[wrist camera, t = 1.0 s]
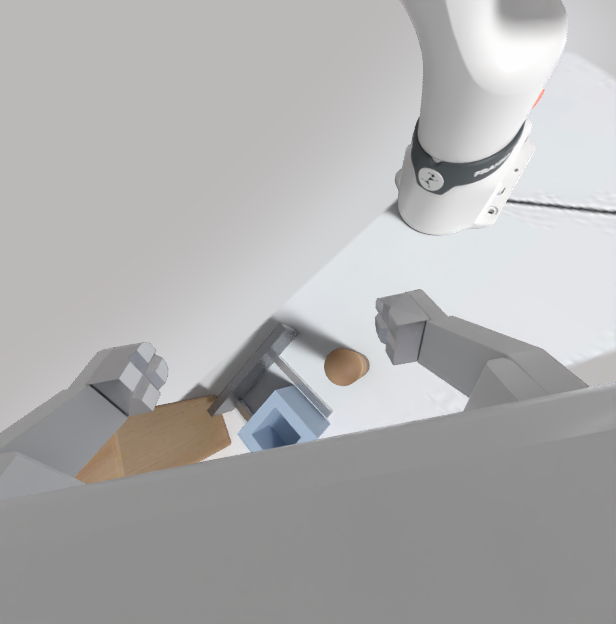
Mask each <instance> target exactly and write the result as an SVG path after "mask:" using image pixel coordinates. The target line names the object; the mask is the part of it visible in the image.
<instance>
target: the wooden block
mask: <svg viewBox="0 0 616 624" xmlns="http://www.w3.org/2000/svg"><path fill="white" fill-rule="evenodd" d="M216 399H217V398H216V396H215V395H210V396H204V397H199V398H194V399H189V400H184V401H179V402H174V403H168V404H163V405H158V406H155V408H154V410H153V411H152V412H147V413H143V414H138V415H134V416H129V417H128V419H127V420H126V421H125V422H124V423H123V424H122V426H121V427H120V428H119V429H118V430H117V431H116V432H115V433H114V434H113V435H112V437H111V438H110V439H109V440H108V441H107V442H106V443H105V444H104V445H103V446H102V448H101V449H100V450H99V451H98V452H97V453H96V454H95V455H94V456H93V457H92V459H91V460H90V461H89V462H88V463H87V464H86V465H85V466H84V467H83V468H82V470H81V471H80V472H79V473H78V474H77V475H76V476H75V477H74V478H75V479H77V480H80V481H82V482H84V483H85V484H90V483H95V482H101V481H106V480H111V479H116V478H121V477H126V476H132V475H137V474H142V473H147V472H152V471H158V470H163V469H168V468H173V467H178V466H183V465H189V464H194V463H198V462H200V461H201V460H203V459H205V458H207V457H209V456H211V455H212V454H214V453H216V452H218V451H220V450H222V449H224V448H225V447H227V446H229V445H230V444H231V440H230V437H229V434H228V431H227V428H226V425H225V422H224V419H223V416H222V414H219V415H216V416H213V417H211V416H210V414H209V413H208V412H207V409H208V408H209V407H210V406H211V405H212V403H213V402H214V401H215V400H216Z"/></svg>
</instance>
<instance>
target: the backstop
mask: <svg viewBox="0 0 616 624" xmlns="http://www.w3.org/2000/svg"><path fill="white" fill-rule="evenodd" d="M297 334H298V332H297V331H296V330H295V329H294V328H292V327H290V326H287V325H284V324H282V323H280V324H279V325H278V326H277V328H276V329H275V330H274V331H273V332H272V334H271V335H270V336H269V337H268V338H267V339H266V341H265V342H264V343H263V344H262V345H261V347H260V348H259V349H258V350H257V351H256V353H255V354H254V355H253V356H252V357H251V358H250V360H249V361H248V362H247V363H246V364H245V366H244V367H243V368H242V369H241V370H240V371H239V373H238V374H237V375H236V376H235V377H234V379H233V380H232V381H231V382H230V383H229V384H228V386H227V387H226V388H225V389H224V390H223V392H222V393H221V394H220V395H219V396H218V397H217V399H216V400H215V401H214V402H213V403H212V405H211V406H210V407H209V408H208V409H207V412H208V413H209V414H210V416H211V417H213V416H216V415H219V414H222V413H226V412H229V411H232V410H233V409H234V408H235V407H236V408H237V409H238V410H239V412H240V413H241V414H242V416H243V417H244V418H245V419H246V421H247V422H248V421H249V420H250V419H251V417H252V416H253V415H254V414H253V413H252V411H251V410H250V409H249V408H248V406H247V405H246V404H245V403H244V401H243V400H242V398H243V397H244V396H245V395H246V394H247V393H248V391H249V390H250V389H251V388H252V387H253V386H254V384H255V383H256V382H257V381H258V380H259V378H260V377H261V376H262V375H263V374H264V373H265V371H266V370H267V369H268V368H269V367H270V366H271V364H272V363H273V362H275V363H276V364H277V365H278V366H279V367H280V368H281V369H282V370H283V372H284V373H285V374H286V375H287V376H288V377H289V378H290V379H291V380H292V381H293V382H294V383H295V384H296V385H297V386H298V388H299V389H300V390H301V391H302V392H303V393H304V394H305V395H306V396H307V397H308V398H309V399H310V400H311V401H312V402H313V404H314V405H315V406H316V407H317V408H318V409H319V410H320V411H321V412H322V413H323V414H324V415H325V416H326V417H328V416H329V415H330V414H331V413H332V412H333V411H332V409H331V408H330V407H329V406H328V405H327V404H326V403H325V402H324V401H323V400H322V399H321V398H320V397H319V396H318V395H317V394H316V393H315V392H314V391H313V390H312V389H311V388H310V387H309V386H308V385H307V383H306V382H305V381H304V380H303V379H302V378H301V377H300V376H299V375H298V374H297V373H296V372H295V371H294V370H293V369H292V368H291V367H290V366H289V365H288V364H287V363H286V362H285V361H284V360H283V359H282V357H281V356H280V354H281V353H282V351H283V350H284V349H285V348H286V347H287V346H288V344H289V343H290V342H291V341H292V340H293V339H294V337H295V336H296V335H297Z"/></svg>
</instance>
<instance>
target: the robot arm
mask: <svg viewBox="0 0 616 624" xmlns="http://www.w3.org/2000/svg"><path fill="white" fill-rule="evenodd" d="M400 1H401V3H402V4H403V6H404V8H405V9H406V11H407V13H408V15H409V17H410V19H411V21H412V24H413V26H414V28H415V31H416V34H417V36H418V40H419V44H420V48H421V52H422V59H423V86H422V100H421V110H420V117H419V119H418V120H417V123H416V126H415V130H414V133H413V137H412V143H411V145H408V147H407V149H406V152H405V157H404V161H403V166H402V169H401V170H399V171H398V172H397V174H396V177H395V183H396V186H397V188H398V191H399V195H398V209H399V212H400V215H401V216H402V218H403V220H404V221H405V222H406V223H407V224H408V225H409V226H411V227H412V228H414V229H415V230H417V231H420V232H422V233H426V234H432V235H445V234H451V233H455V232H458V231H461V230H464V229H467V228H484V227H489V226H491V225H493V224H494V222H495V221H496V219H497V217H498V215H499V213H500V212H501V210H502V208H503V206H504V205H505V203H506V201H507V199H508V198H509V196H510V194H511V192H512V190H513V189H514V187H515V185H516V183H517V182H518V180H519V178H520V176H521V174H522V173H523V171H524V169H525V167H526V166H527V164H528V162H529V160H530V158H531V157H532V155H533V153H534V151H535V145H534V144H533V142H532V141H531V140H530V139H529V138H528V135H529V134H530V132H531V130H532V124H531V122H530V121H529V119H528V118H527V116H528V114H529V112H530V111H531V109H532V108H533V107H534V106H535V105H536V104H537V102H538V101H539V99H540V98H541V96H542V94H543V93H544V89H543V88H544V87H545V85H546V83H547V81H548V80H549V78H550V76H551V74H552V73H553V71H554V69H555V68H556V66H557V64H558V63H559V61H560V58H561V56H562V53H563V50H564V47H565V44H566V40H567V35H568V20H567V14H566V10H565V8H564V6H563V4H562V2H561V0H400ZM488 212H492V214H489V213H488ZM376 309H377V311H378V314H377V316H376V317H375V326H376V332H377V334H378V337H379V339H380V341H381V342H382V343H384V344H386V353H387V355H388V357H389V358H390V360H391V362H392V364H393V365H398V364H404V363H410V362H416V361H418V363H419V364H421V365H422V366H424V367H425V368H427V369H428V370H430V371H431V372H432V373H434V374H435V375H437V376H438V377H440V378H441V379H443V380H444V381H446V382H447V383H448V384H450V385H451V386H453V387H454V388H456V389H457V390H459V391H460V392H462V393H463V394H464V395H466V396H467V397H469V400H468V402H467V404H466V406H465V408H464V411H463V412H458V413H453V414H448V415H443V416H437V417H432V418H427V419H422V420H417V421H412V422H406V423H401V424H396V425H391V426H386V427H380V428H375V429H370V430H365V431H360V432H354V433H349V434H344V435H339V436H334V437H328V438H323V439H318V440H313V441H308V442H302V443H297V444H292V445H287V446H282V447H276V448H271V449H266V450H261V451H256V452H251V453H245V454H240V455H235V456H230V457H225V458H220V459H214V460H209V461H204V462H199V463H194V464H189V465H183V466H178V467H173V468H168V469H163V470H158V471H152V472H147V473H142V474H137V475H132V476H126V477H121V478H116V479H111V480H106V481H101V482H95V483H90V484H85V483H84V482H82V481H80V480H77V479H75V478H74V477H75V476H76V475H77V474H78V473H79V472H80V471H81V470H82V468H83V467H84V466H85V465H86V464H87V463H88V462H89V461H90V460H91V459H92V457H93V456H94V455H95V454H96V453H97V452H98V451H99V450H100V449H101V448H102V446H103V445H104V444H105V443H106V442H107V441H108V440H109V439H110V438H111V437H112V435H113V434H114V433H115V432H116V431H117V430H118V429H119V428H120V427H121V426H122V424H123V423H124V422H125V421H126V420H127V419H128V417H129V416H134V415H138V414H143V413H147V412H152V411H153V410H154V408H155V405H156V403H157V401H158V399H159V396H160V392H159V388H160V387H161V386H162V385H164V384H165V382H166V380H167V377H168V367H167V364H166V362H165V361H164V359H163V358H162V357H159V356H157V355H155V351H156V349H155V348H154V347H153V346H152V345H151V343H146V342H143V343H138V344H132V345H126V346H120V347H114V348H109V349H104V350H101V351H99V352H97V354H96V355H95V356H94V357H93V358H92V360H91V361H90V362H89V363H88V365H87V366H86V367H85V368H84V370H83V371H82V372H81V373H80V374H79V376H78V377H77V378H76V379H75V381H74V382H73V383H72V384H71V386H70V387H69V388H68V389H66V390H62V391H61V392H59V393H58V394H56V395H55V396H54V397H52V398H51V399H49V400H48V401H46V402H45V403H43V404H42V405H40V406H39V407H37V408H36V409H35V410H33V411H32V412H30V413H29V414H27V415H26V416H24V417H23V418H21V419H20V420H18V421H17V422H16V423H14V424H13V425H11V426H10V427H8V428H7V429H5V430H4V431H2V432H1V433H0V624H616V382H614V383H608V384H603V385H598V386H594V387H589V386H588V385H587V384H586V383H584V382H583V381H582V380H581V379H579V378H578V377H577V376H576V375H574V374H573V373H572V372H571V371H570V370H568V369H567V368H566V367H565V366H563V365H562V364H561V363H560V362H558V361H557V360H556V359H555V358H553V357H552V356H551V355H550V354H548V353H547V352H546V351H545V350H543V349H541V348H539V347H536V346H533V345H530V344H528V343H525V342H522V341H520V340H517V339H514V338H511V337H509V336H506V335H503V334H501V333H498V332H495V331H492V330H490V329H487V328H484V327H482V326H479V325H476V324H473V323H471V322H468V321H465V320H463V319H460V318H457V317H454V316H449V317H448V316H447V315H446V314H445V313H444V312H443V311H442V310H441V309H440V308H439V307H438V306H437V305H436V304H435V303H434V302H433V301H432V300H431V299H430V298H429V297H428V295H427V294H426V293H425V292H424V291H423V290H420V289H418V290H413V291H409V292H405V293H401V294H396V295H391V296H386V297H381V298H377V300H376Z"/></svg>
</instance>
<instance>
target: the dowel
mask: <svg viewBox="0 0 616 624" xmlns="http://www.w3.org/2000/svg"><path fill="white" fill-rule="evenodd" d="M324 369H325V373H326V376H327V377H328V379H329V380H330V381H331V382H333V383H334V384H336V385H339V386H347V385H350V384H352V383H354V382H355V381H356V380H358V379H359V378H361V377H362V376H364V375H365V374H366V373H367V372H368V370H369V361H368V359H367V358H366V357H365V356H364V355H363V354H360V353H357V352H354V351H351V350H348V349H344V348H340V349H336V350H334V351H332V352H331V353H330V354H329V355H328V356H327V358H326V360H325V364H324Z"/></svg>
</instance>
